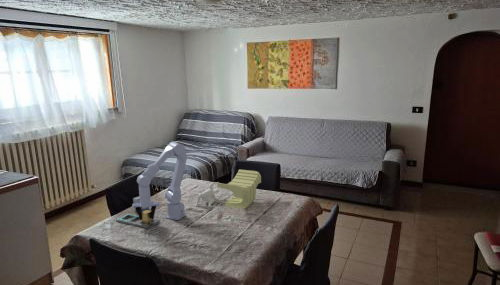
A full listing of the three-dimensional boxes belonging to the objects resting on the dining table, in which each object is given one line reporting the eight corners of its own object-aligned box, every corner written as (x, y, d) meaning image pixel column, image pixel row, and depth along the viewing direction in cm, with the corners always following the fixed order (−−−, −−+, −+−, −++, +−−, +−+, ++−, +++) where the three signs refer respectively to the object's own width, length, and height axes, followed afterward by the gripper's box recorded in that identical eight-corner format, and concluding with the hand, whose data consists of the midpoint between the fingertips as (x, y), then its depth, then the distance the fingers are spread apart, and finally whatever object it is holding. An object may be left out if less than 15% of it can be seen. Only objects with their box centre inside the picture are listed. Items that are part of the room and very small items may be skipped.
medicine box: (138, 213, 205) (137, 199, 203) (133, 211, 207) (132, 198, 205) (149, 208, 211) (148, 195, 209) (144, 207, 213) (143, 194, 212)
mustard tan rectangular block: (152, 220, 190) (152, 210, 189) (147, 223, 187) (146, 213, 185) (147, 219, 192) (146, 209, 191) (141, 222, 188) (140, 212, 187)
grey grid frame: (159, 222, 192) (159, 219, 191) (149, 228, 184) (148, 226, 183) (127, 215, 201) (127, 213, 201) (116, 221, 193) (116, 219, 193)
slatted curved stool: (242, 214, 199) (241, 186, 195) (218, 210, 205) (217, 183, 202) (261, 197, 226) (260, 171, 222) (239, 194, 232) (239, 169, 228)
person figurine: (207, 193, 205) (217, 179, 221) (189, 195, 210) (200, 181, 226) (214, 211, 209) (223, 196, 225) (196, 213, 214) (207, 198, 230)
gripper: (159, 192, 191) (161, 215, 194) (133, 194, 189) (135, 216, 192) (157, 197, 184) (159, 220, 187) (130, 199, 183) (132, 222, 185)
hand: (147, 219), depth 189 cm, fingers closed on mustard tan rectangular block, 6 cm apart
